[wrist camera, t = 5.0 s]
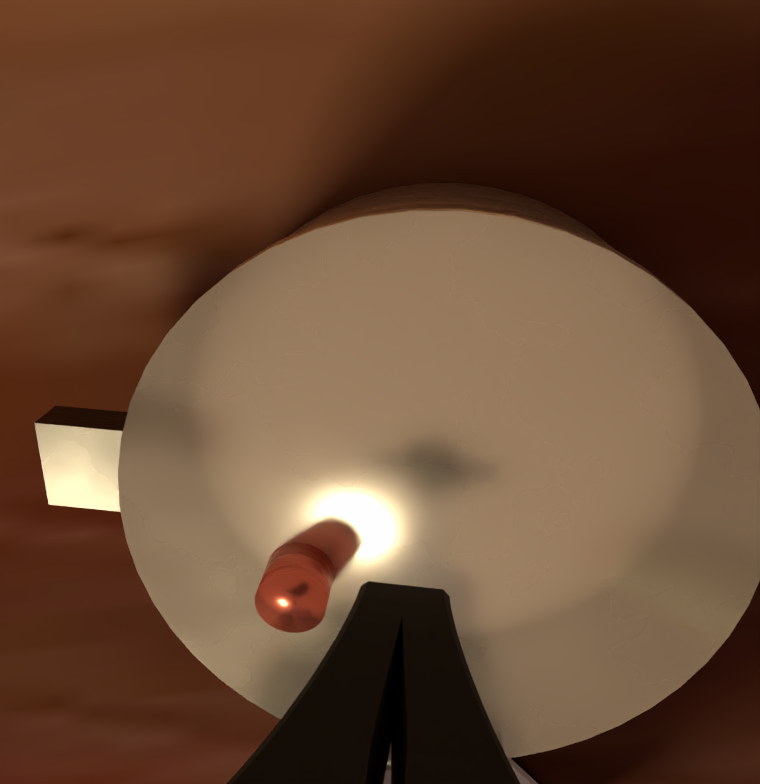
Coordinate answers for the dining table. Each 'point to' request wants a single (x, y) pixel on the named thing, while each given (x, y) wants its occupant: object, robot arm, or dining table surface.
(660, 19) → the dining table surface
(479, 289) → the cooker lid
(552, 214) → the cooker pot
